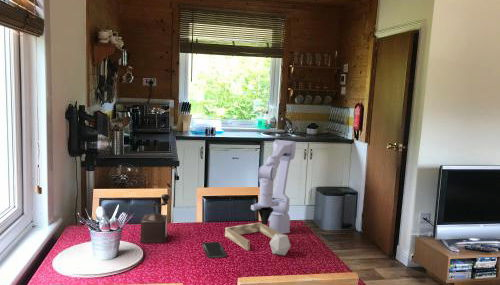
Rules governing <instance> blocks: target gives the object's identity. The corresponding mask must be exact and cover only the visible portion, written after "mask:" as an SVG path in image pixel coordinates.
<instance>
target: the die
mask: <svg viewBox="0 0 500 285" xmlns="http://www.w3.org/2000/svg"><path fill="white" fill-rule="evenodd" d="M269 245H270V249H271V253H272V254H273V255H278V256H283V257H284V256H286V255H287V253H288V251H289V249H290V248H291V242H290V238H289V236H288V235H287V234H283V235H282V234H275V235H274V237H273V238H271V239H270V241H269Z"/></svg>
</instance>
